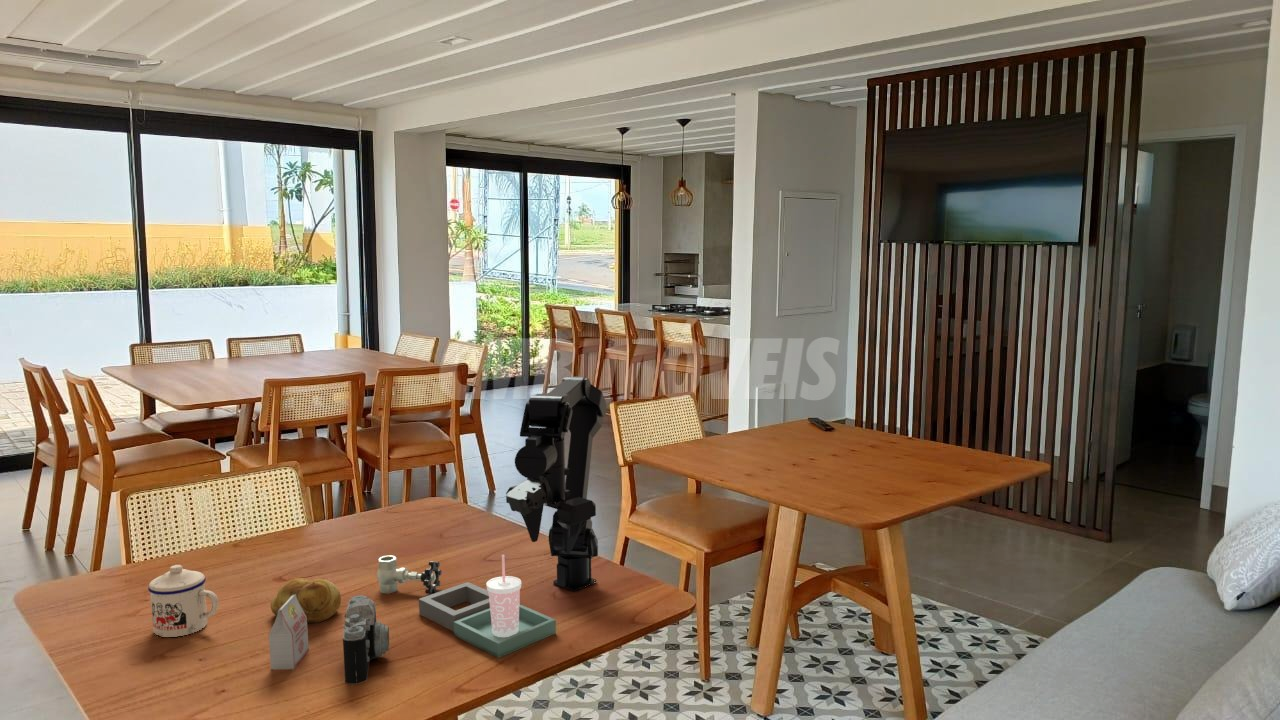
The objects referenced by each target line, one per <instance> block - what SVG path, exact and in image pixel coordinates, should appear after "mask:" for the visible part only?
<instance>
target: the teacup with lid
mask: <svg viewBox="0 0 1280 720" xmlns="http://www.w3.org/2000/svg"><path fill="white" fill-rule="evenodd" d="M205 582H206V577H205V574H204V573H202V572H200V571H198V570H197V571H196V570H189V569H185V568H183V565H182V564H174V565H171V566H170V568H169V571H167V572H165V573H164V574H162V575H159V576H157V577H156V578H154V579H152V580H151V581H150V582H149V585H148V591H149V595H150V606H151V617H152V620H151V621H152V630H153V634H154V633H155V634H157V635H160V636H165V637H168V636H169V637H176V636H182V635H187V634H191V633H193V634H195V633H194V632H196V633H198V632H199V630H200V631H201V630H203V629H204V628H205V627H206V626H207V624H208V618H210V617H212V616H213V615H215V613H216V612H217V611H218V608H219V598H218V595H217V594H216V593H215V592H213V591H212V590H209V589H208V590H207V589H205V588H206V587H205V586H206V585H205ZM206 597H208V598H209V599H210V600H211V609H210V611H208V612H207V610H208V609H207V601H206V599H207V598H206ZM202 628H203V629H202ZM197 631H198V632H197ZM155 634H154V635H155ZM191 635H192V634H191ZM187 636H188V635H187Z"/></svg>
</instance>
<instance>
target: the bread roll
mask: <svg viewBox="0 0 1280 720" xmlns="http://www.w3.org/2000/svg"><path fill="white" fill-rule="evenodd" d="M295 594H296V597H297V600H298V602H299V604H300V606H301V608H302V610H303V611H304V613H305V615H306V617H307V624H312V623H316V624H317V623H321V622H323V621H326V620H328V619H329V618H331V617H332V616H333V615H335V614H336V612H337V611H338V610H339V609H340V607H341V602H342V598H341V592H340V589H339V588H338V587H337V585H336V584H334V583H333V582H331V581H329V580H328V579H325V578H316V579H312V580H308V579H306V578H302V577H301V578H299V577H296V578H291V579H290V580H288V581H287V582H285V583H284V584H283V585H282V586H280V588H279V589H278V591H277V595H275V596H274V597H273V598H271V601H270V610H271V612H272V614H274V615H275V616H276V617H277V614H278V610H279V609H280V608H281V607H282V606H283V605H284V604H285V603H286V602H287V601H288V600H289V598H290V597H291V596H292V595H293V596H294V595H295Z"/></svg>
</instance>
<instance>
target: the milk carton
mask: <svg viewBox="0 0 1280 720" xmlns="http://www.w3.org/2000/svg"><path fill="white" fill-rule="evenodd" d="M274 620H275V621H274V622H273V625H272V627H271V629H270V631H269V633H268V642H269V643H268V644H269V656H270V657H269V660H270V670H271V669H273V670H295V668H296V667H297V666H298V665H299V664H300V662H301V660H302V659H303V658H304V657H305V655H307V653H308V652H309V633H308V623H307V617H306V615H305V613H304V611H303V610H302V608H301V606H300V604H299V602H298V600H297V597H296V594H295V595H294V596H293V595H292V596H291V597H290V598H289V600H288V601H287V602H286V603H285V604H284V605H283V606H282V607H281V608H280V609H279V610H278V614H277V616H276V617H275V619H274ZM297 664H298V665H297Z"/></svg>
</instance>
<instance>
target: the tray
mask: <svg viewBox="0 0 1280 720" xmlns="http://www.w3.org/2000/svg"><path fill="white" fill-rule="evenodd" d="M556 624H557V622H556V618H553V617H550V616H548V615H546V614H543V613H541V612H539V611H537V610H534V609H532V608H530V607H527V606H525V605H522V604H520V603H519V631H518V633H516V634H514V635H512V636H509V637H497V636H495V635H493V633H492V623H491V613H490V608H489V609H486V610H484V611H481V612H478V613H476V614H473V615H470V616H468V617H465V618H462V619H460V620H457V621H455V622H454V631H453V635H454V636H455V637H456V638H458V639H460V640H463V641H464V642H467V643H468V644H470V645H472V646H474V647H477V648H479V649H480V650H482V651H484V652H486V653H487V654H490V655H492V656H493V657H497V658H498V659H499V658H502V657H505V656H506V655H510V654H511V653H513V652H516V651H519V650H521V649H523V648H524V647H527V646H530V645H533V644H534V643H537V642H540V641H542V640H544V639H545V638H548V637H550V636H553V635H555V634H557V625H556Z"/></svg>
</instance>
